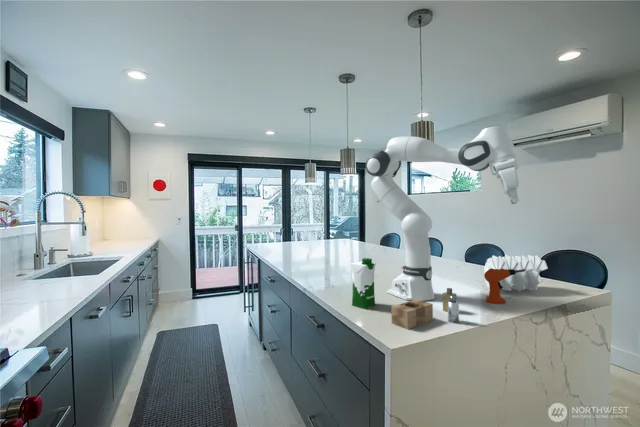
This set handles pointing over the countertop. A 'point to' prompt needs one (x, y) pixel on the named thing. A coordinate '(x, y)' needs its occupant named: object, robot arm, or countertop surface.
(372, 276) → the milk carton
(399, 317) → the socket block
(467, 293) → the countertop surface
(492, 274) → the toy drill
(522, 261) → the spiral staircase
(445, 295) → the square bit
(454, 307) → the cylinder
